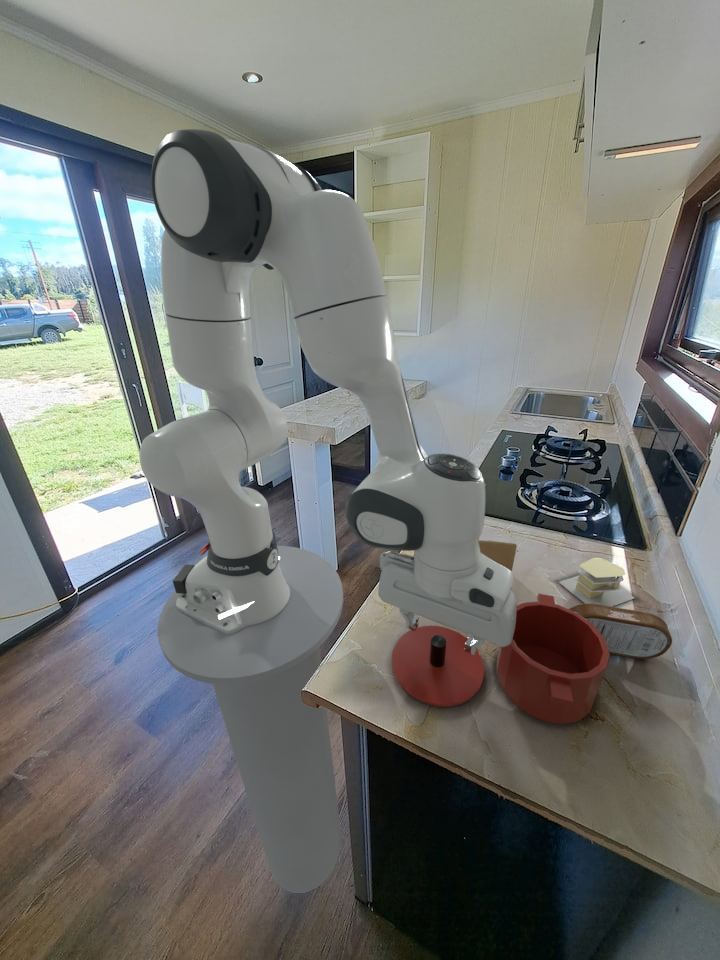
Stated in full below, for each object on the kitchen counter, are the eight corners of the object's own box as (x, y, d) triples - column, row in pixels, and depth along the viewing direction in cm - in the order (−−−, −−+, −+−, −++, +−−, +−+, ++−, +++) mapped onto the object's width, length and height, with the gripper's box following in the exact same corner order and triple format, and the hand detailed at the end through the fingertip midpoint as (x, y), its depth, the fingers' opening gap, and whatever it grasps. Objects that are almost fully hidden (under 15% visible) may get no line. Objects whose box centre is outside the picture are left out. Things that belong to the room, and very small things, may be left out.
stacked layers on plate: (595, 612, 71) (603, 589, 69) (558, 582, 79) (563, 560, 76) (635, 598, 74) (643, 575, 71) (595, 570, 81) (601, 549, 79)
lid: (381, 694, 58) (381, 669, 56) (402, 622, 70) (402, 599, 68) (482, 721, 54) (486, 696, 51) (484, 640, 66) (488, 616, 64)
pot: (496, 727, 53) (505, 681, 49) (496, 624, 69) (503, 583, 65) (607, 757, 49) (627, 711, 45) (580, 641, 65) (592, 599, 61)
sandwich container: (497, 559, 86) (506, 501, 79) (506, 609, 72) (518, 544, 66) (458, 555, 88) (463, 498, 81) (459, 603, 74) (466, 540, 68)
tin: (657, 651, 63) (674, 613, 59) (665, 667, 60) (683, 629, 57) (557, 632, 67) (567, 596, 63) (560, 647, 64) (571, 610, 61)
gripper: (369, 558, 56) (372, 627, 62) (516, 606, 46) (503, 682, 52) (388, 536, 61) (389, 602, 67) (525, 576, 51) (512, 648, 57)
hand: (440, 638), depth 60 cm, fingers open, 8 cm apart
